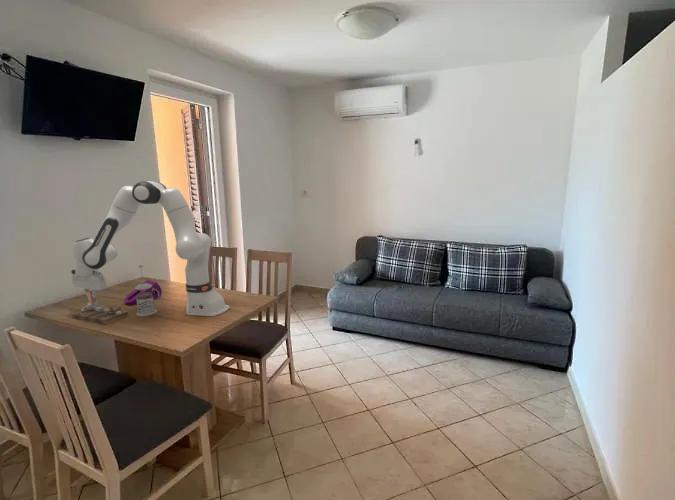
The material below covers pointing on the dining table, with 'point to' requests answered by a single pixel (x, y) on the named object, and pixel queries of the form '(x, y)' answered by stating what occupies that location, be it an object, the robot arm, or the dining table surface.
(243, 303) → the dining table surface
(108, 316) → the gauge board
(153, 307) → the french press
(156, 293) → the purple curved piece
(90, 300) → the sliding divider leg
